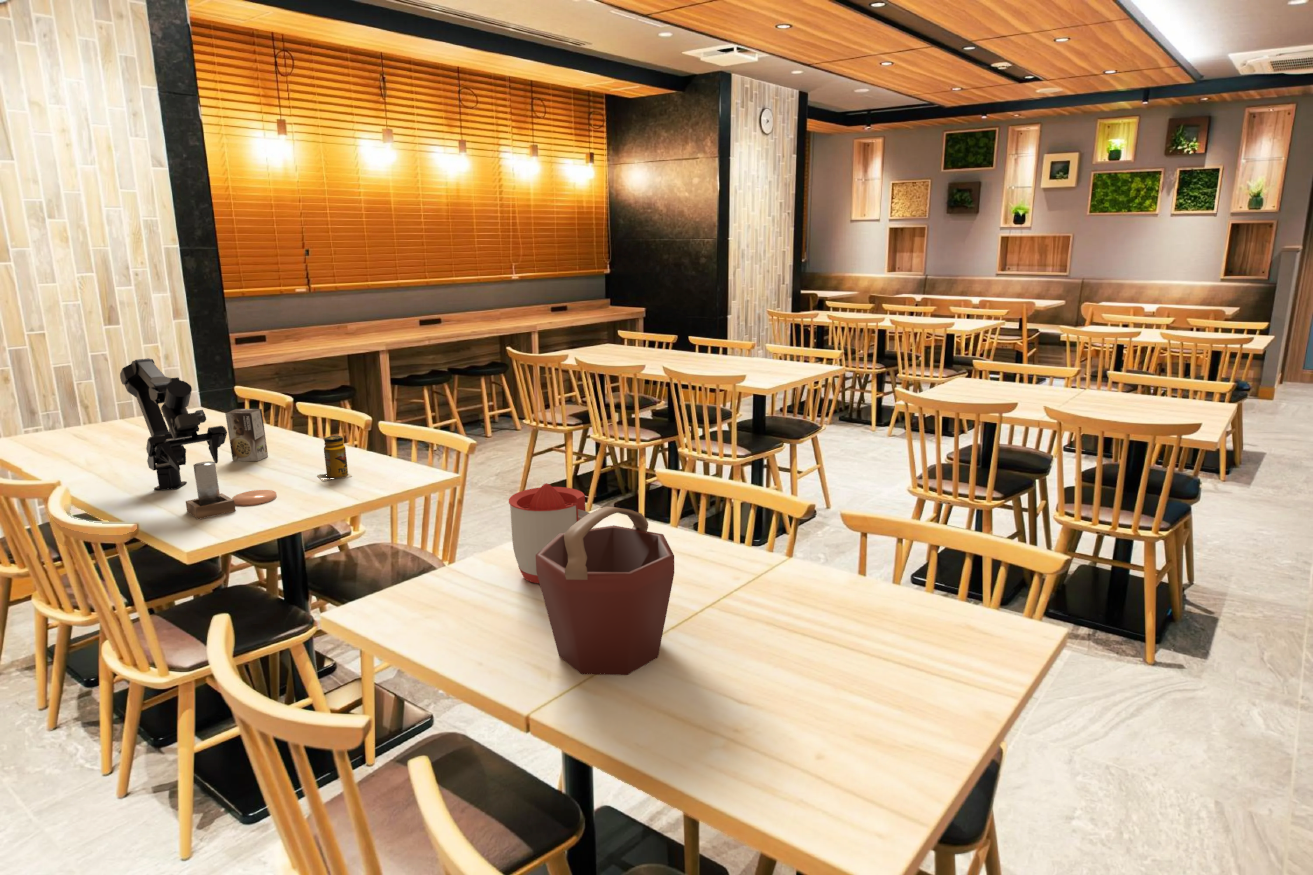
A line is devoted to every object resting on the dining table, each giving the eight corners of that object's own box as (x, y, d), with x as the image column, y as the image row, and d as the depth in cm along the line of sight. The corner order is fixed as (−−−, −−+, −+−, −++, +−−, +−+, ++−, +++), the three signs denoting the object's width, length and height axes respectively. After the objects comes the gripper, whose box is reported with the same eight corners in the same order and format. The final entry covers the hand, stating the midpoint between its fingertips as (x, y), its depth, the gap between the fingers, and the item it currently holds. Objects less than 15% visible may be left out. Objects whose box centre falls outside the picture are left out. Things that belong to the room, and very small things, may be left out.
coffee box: (269, 456, 273) (262, 408, 269) (258, 461, 267) (251, 412, 263) (243, 456, 274) (236, 408, 270) (231, 461, 268) (224, 412, 264)
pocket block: (187, 511, 218) (185, 501, 217) (223, 503, 224) (221, 493, 224) (198, 519, 212) (197, 508, 211) (235, 510, 218) (234, 500, 217)
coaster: (242, 493, 233) (241, 490, 233) (282, 492, 234) (282, 489, 233) (225, 506, 222) (225, 502, 222) (267, 504, 223) (267, 501, 223)
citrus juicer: (585, 592, 165) (581, 496, 160) (502, 587, 168) (496, 493, 163) (603, 562, 180) (600, 474, 175) (527, 558, 183) (522, 471, 178)
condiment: (352, 476, 248) (347, 438, 245) (322, 481, 244) (317, 442, 241) (346, 471, 254) (341, 433, 251) (317, 476, 250) (312, 437, 247)
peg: (205, 508, 220) (198, 461, 217) (225, 508, 221) (218, 461, 218) (197, 514, 216) (189, 466, 212) (217, 514, 216) (210, 466, 213)
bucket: (600, 703, 126) (594, 548, 120) (508, 657, 140) (499, 516, 134) (701, 644, 143) (701, 507, 137) (610, 608, 158) (606, 482, 152)
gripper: (142, 407, 212) (162, 455, 207) (219, 396, 225) (240, 441, 220) (138, 432, 219) (157, 480, 214) (213, 420, 232) (233, 465, 227)
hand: (198, 466), depth 219 cm, fingers open, 9 cm apart
